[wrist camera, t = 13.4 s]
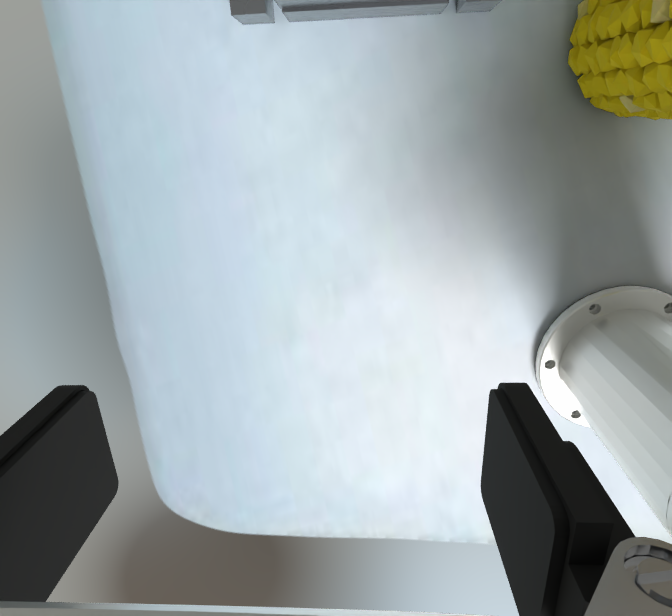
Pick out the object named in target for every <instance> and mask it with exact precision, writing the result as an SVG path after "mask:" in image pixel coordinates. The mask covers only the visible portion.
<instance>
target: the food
mask: <svg viewBox="0 0 672 616" xmlns="http://www.w3.org/2000/svg"><path fill="white" fill-rule="evenodd" d="M569 40H570V41H571V43H572V45H573V46H574V47H573V48H572V49H570V50H569V58H568V64H569V66H570V67H571V69H572V70H573V72H574V73H575V74H576V76H579V75H581V74H583V73H584V74H583V75H582V76H581V77H580V78H579V79H578V80H577V82H578V84H579V86H580V88H581V90H582V93H583V95H584V97H585V98H591V99H590V101H589V102H590V103H592V104H593V105H594V106H595V107H596V108H599V109H602V110H605V111H608V112H611V113H614V114H615V115H616V116H619V117H623V116H624V117H632V116H640V117H647V118H650V119H654V120H657V119H660V118H662V119H672V0H583V1H582V2H581V3H580V4H579V5H578V19H577V20H576V23H575V26H574V29H573V31H572V34H571V37H570V39H569Z"/></svg>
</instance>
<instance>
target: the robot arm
mask: <svg viewBox="0 0 672 616" xmlns="http://www.w3.org/2000/svg"><path fill="white" fill-rule="evenodd" d="M590 306H591V307H590ZM547 360H548V361H547ZM536 377H537V381H538V385H539V388H540V390H541V391H542V393H543V395H544V397H545V398H546V400H547V401H548V403H549V404H550V405H551V407H552V408H553V409H554V410H555V411H557V412H558V413H559V414H560V415H561V416H563V417H564V418H566V419H567V420H569V421H571V422H573V423H576V424H579V425H582V426H585V427H591V429H592V430H593V431H594V433H595V434H596V436H597V437H598V438H599V440H600V441H601V442H602V444H603V445H604V446H605V448H606V449H607V450H608V452H609V453H610V454H611V456H612V457H613V459H614V460H615V461H616V463H617V464H618V465H619V467H620V468H621V469H622V471H623V472H624V473H625V475H626V476H627V477H628V479H629V480H630V481H631V483H632V484H633V486H634V487H635V488H636V490H637V491H638V492H639V494H640V495H641V496H642V498H643V499H644V500H645V502H646V503H647V504H648V506H649V507H650V509H651V510H652V511H653V513H654V514H655V515H656V517H657V518H658V519H659V521H660V522H661V523H662V525H663V526H664V527H665V529H666V530H667V532H668V533H669V534H670V536H671V537H672V296H671V295H669V294H667V293H665V292H662V291H659V290H657V289H654V288H648V287H642V286H620V287H615V288H609V289H605V290H602V291H599V292H596V293H594V294H591V295H589V296H587V297H585V298H583V299H581V300H579V301H578V302H576V303H574V304H573V305H572V306H570V307H569V308H568V309H566V310H565V311H564V312H563V313H561V315H560V316H559V317H558V318H557V319H556V320H555V321H554V322H553V323H552V324H551V326H550V327H549V329H548V330H547V332H546V333H545V335H544V336H543V339H542V341H541V344H540V346H539V348H538V352H537V357H536ZM117 489H118V477H117V473H116V469H115V466H114V462H113V458H112V454H111V451H110V447H109V443H108V439H107V436H106V432H105V428H104V424H103V420H102V417H101V413H100V409H99V406H98V402H97V398H96V395H95V394H94V392H92V391H89V389H88V388H87V387H86V386H84V385H62V386H58V387H56V388H55V389H53V391H51V392H50V393H49V394H48V395H47V396H45V397H44V398H43V399H42V400H41V401H40V402H39V403H37V404H36V405H35V406H34V407H33V408H32V409H31V410H29V411H28V412H27V413H26V414H25V415H24V416H23V417H22V418H20V419H19V420H18V421H17V422H16V423H15V424H13V425H12V426H11V427H10V428H9V429H8V430H7V431H5V432H4V434H2V435H1V436H0V616H492V615H472V614H450V613H449V614H448V613H430V612H410V611H409V612H408V611H380V610H378V611H377V610H348V609H347V610H346V609H315V608H282V607H245V606H206V605H204V606H202V605H164V604H123V603H122V604H121V603H70V602H68V603H66V602H46V600H47V599H48V597H49V595H50V594H51V592H52V591H53V589H54V588H55V586H56V585H57V583H58V581H59V580H60V579H61V577H62V576H63V574H64V573H65V571H66V570H67V568H68V567H69V565H70V564H71V562H72V561H73V559H74V558H75V556H76V554H77V553H78V551H79V550H80V548H81V547H82V545H83V544H84V542H85V541H86V539H87V538H88V536H89V535H90V533H91V532H92V530H93V529H94V527H95V526H96V524H97V523H98V521H99V519H100V518H101V517H102V515H103V513H104V512H105V510H106V509H107V507H108V506H109V504H110V503H111V501H112V500H113V498H114V496H115V495H116V493H117ZM481 493H482V498H483V502H484V505H485V508H486V511H487V514H488V517H489V521H490V524H491V527H492V530H493V533H494V536H495V540H496V543H497V546H498V549H499V552H500V555H501V559H502V561H503V565H504V568H505V571H506V574H507V578H508V581H509V584H510V587H511V590H512V593H513V596H514V600H515V603H516V606H517V609H518V612H519V616H672V544H669V543H667V542H664V541H661V540H658V539H652V538H647V537H635V535H634V534H633V532H632V531H631V529H630V528H629V526H628V525H627V523H626V522H625V520H624V519H623V517H622V515H621V514H620V512H619V511H618V509H617V508H616V506H615V505H614V503H613V502H612V500H611V499H610V497H609V496H608V494H607V493H606V491H605V489H604V488H603V486H602V485H601V483H600V482H599V480H598V479H597V477H596V476H595V474H594V473H593V471H592V470H591V468H590V466H589V465H588V463H587V462H586V460H585V459H584V457H583V456H582V454H581V453H580V451H579V450H578V448H577V447H576V446H575V445H574V443H572V442H570V441H563V440H562V439H561V437H560V435H559V434H558V432H557V431H556V429H555V427H554V426H553V424H552V423H551V421H550V419H549V418H548V416H547V415H546V413H545V411H544V410H543V408H542V407H541V405H540V403H539V402H538V400H537V398H536V397H535V395H534V394H533V392H532V390H531V389H530V387H529V386H528V384H527V383H500V384H499V386H498V389H491V391H490V394H489V404H488V414H487V424H486V435H485V445H484V455H483V466H482V476H481Z"/></svg>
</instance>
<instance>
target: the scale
mask: <svg viewBox="0 0 672 616" xmlns="http://www.w3.org/2000/svg"><path fill="white" fill-rule="evenodd" d="M274 1H275V2H276V3H277V5H278V6H279V7H280V9H282V13H283V14H284V15H285V17H286V18H287V19H288V21H289V22H299V21H317V20H336V19H354V18H372V17H390V16H409V15H427V14H441V13H442V11H443V10H444V9H445V7H446V6H447V5H448V3H449V0H274ZM501 1H502V0H457V11H456V13H463V12H482V11H490V10H492V9H493V8H494V7H495V6H496V5H497V4H499V3H500V2H501ZM230 7H231V15H232V16H233V17H234V18H235V19H237V20H238V21H239V22H240V23H242V24H243V25H244V24H263V23H275V22H274V9H273V0H230Z"/></svg>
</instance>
